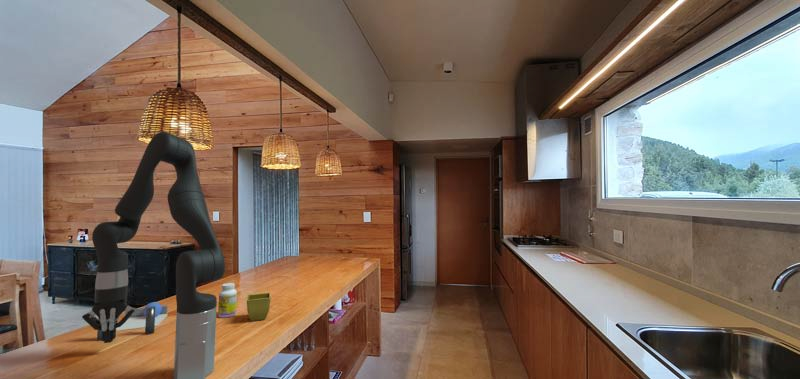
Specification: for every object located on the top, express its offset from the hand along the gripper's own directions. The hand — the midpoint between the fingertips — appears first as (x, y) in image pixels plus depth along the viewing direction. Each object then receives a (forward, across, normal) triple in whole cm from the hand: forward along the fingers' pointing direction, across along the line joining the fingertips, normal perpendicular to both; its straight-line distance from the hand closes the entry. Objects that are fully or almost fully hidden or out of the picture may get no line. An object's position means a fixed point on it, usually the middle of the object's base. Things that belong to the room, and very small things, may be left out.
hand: (108, 341), depth 96 cm
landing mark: (+3, 0, +28) cm, 28 cm away
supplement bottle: (+3, +30, +23) cm, 38 cm away
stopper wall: (+3, 0, +37) cm, 37 cm away
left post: (+3, -6, +14) cm, 15 cm away
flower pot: (+4, +42, +14) cm, 45 cm away
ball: (0, +3, +33) cm, 33 cm away
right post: (+3, +7, +13) cm, 15 cm away
